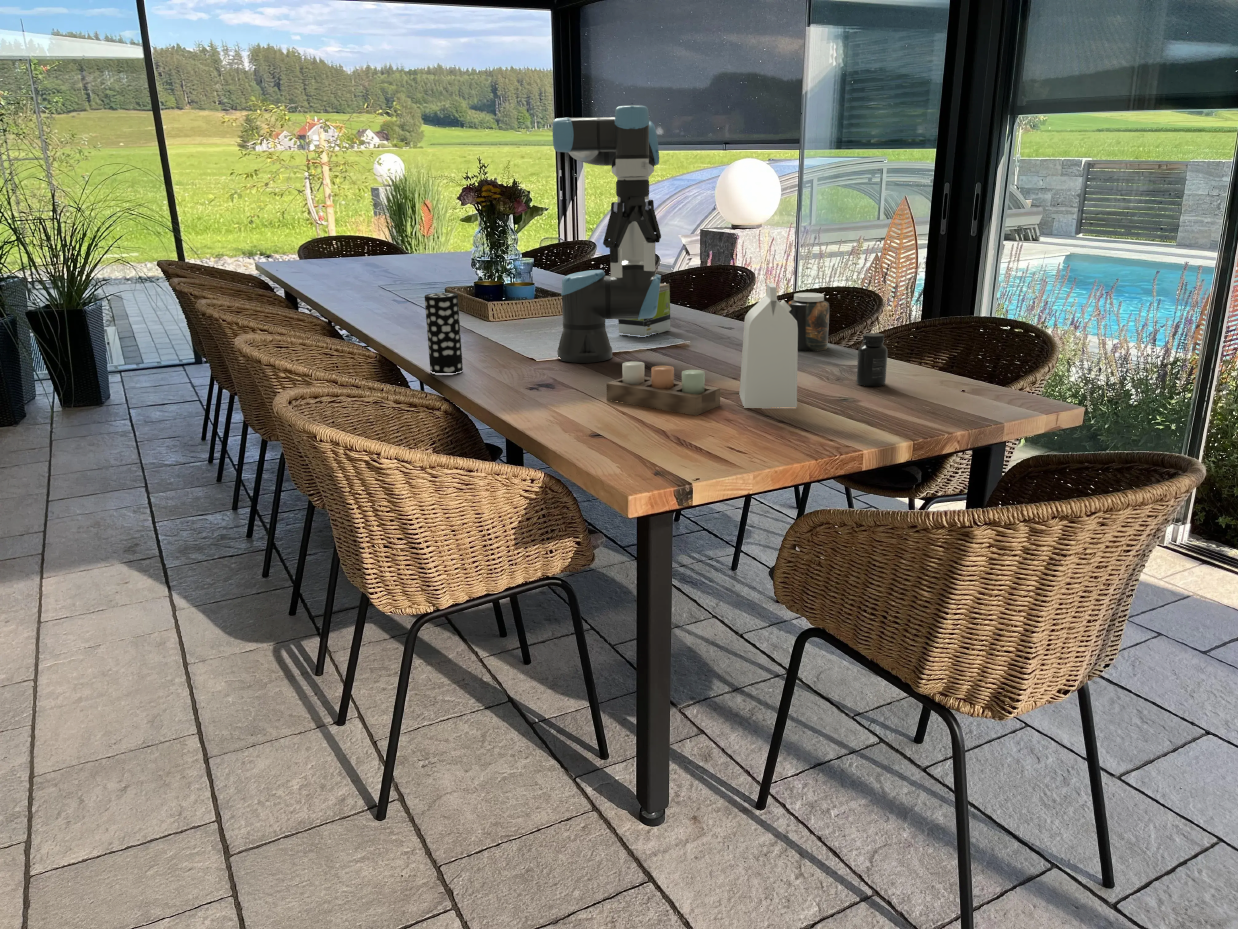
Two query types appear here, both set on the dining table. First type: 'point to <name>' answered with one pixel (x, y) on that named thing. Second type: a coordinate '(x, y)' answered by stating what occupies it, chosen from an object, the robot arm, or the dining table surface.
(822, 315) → the jar
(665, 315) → the tea box
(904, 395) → the dining table surface
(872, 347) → the supplement bottle
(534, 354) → the dining table surface
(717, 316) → the dining table surface
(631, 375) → the off-white button
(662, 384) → the peach rounded cylinder
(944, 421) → the dining table surface
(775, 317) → the milk
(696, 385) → the pale green domed cylinder
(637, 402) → the wooden compartment tray
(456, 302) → the white-spotted black cylinder
